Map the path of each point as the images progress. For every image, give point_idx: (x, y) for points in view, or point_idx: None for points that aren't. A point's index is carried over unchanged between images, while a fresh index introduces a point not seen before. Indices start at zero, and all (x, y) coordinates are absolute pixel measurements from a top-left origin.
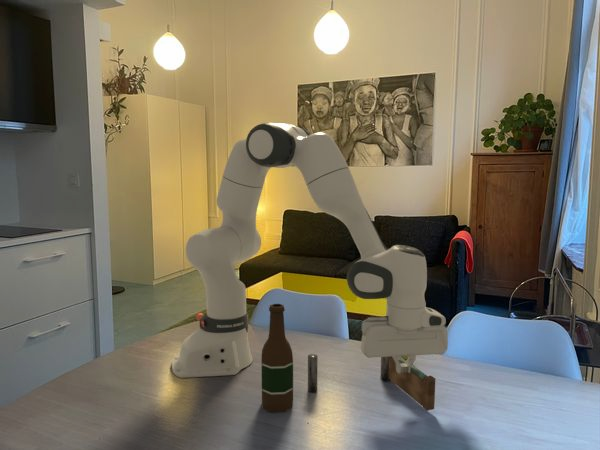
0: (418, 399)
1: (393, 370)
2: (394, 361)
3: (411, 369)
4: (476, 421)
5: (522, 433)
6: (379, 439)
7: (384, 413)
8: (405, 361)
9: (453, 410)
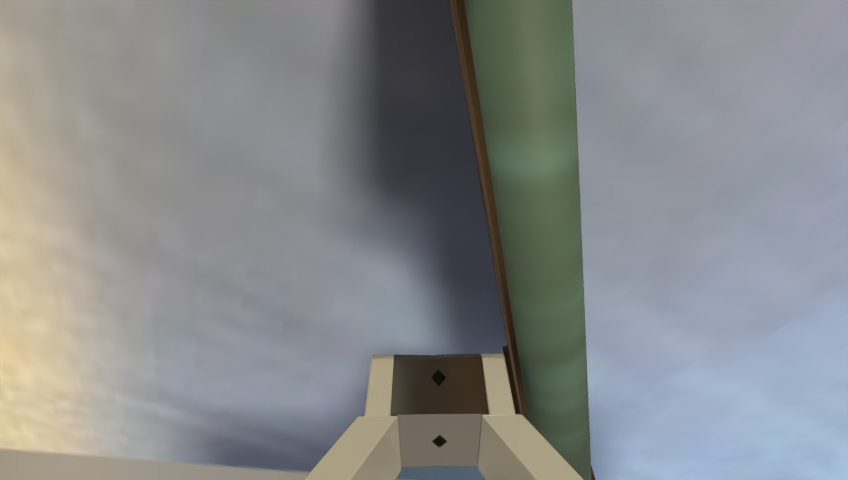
0: (504, 325)
1: (453, 8)
2: (335, 446)
3: (527, 399)
4: (704, 405)
5: (803, 471)
6: (238, 448)
7: (289, 312)
8: (546, 290)
9: (674, 327)
